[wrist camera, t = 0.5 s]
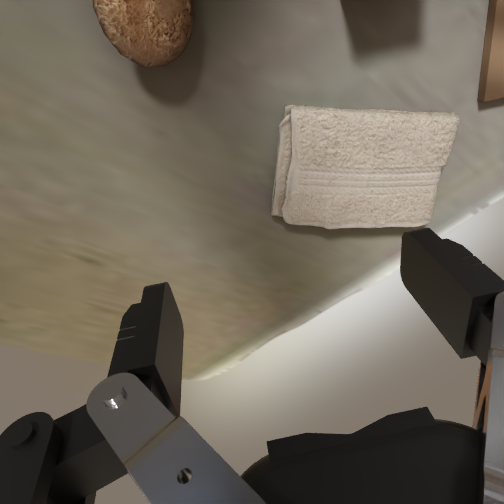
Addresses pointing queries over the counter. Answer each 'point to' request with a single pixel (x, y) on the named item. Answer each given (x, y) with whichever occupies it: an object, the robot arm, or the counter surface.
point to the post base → (493, 54)
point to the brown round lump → (147, 28)
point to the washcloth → (360, 166)
